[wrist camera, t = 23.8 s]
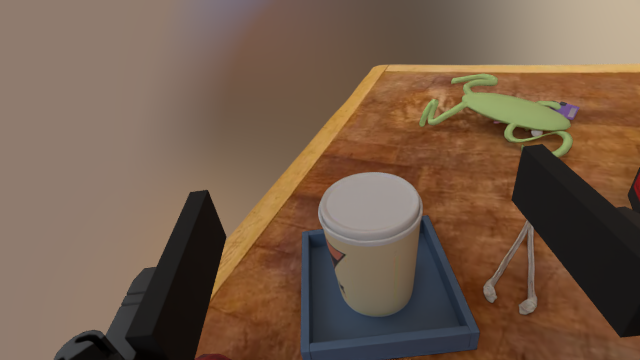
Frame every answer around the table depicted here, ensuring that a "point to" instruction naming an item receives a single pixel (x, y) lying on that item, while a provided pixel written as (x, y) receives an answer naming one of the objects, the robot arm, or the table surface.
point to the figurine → (510, 112)
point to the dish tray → (390, 331)
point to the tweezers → (531, 302)
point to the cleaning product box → (635, 193)
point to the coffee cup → (373, 240)
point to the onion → (212, 357)
